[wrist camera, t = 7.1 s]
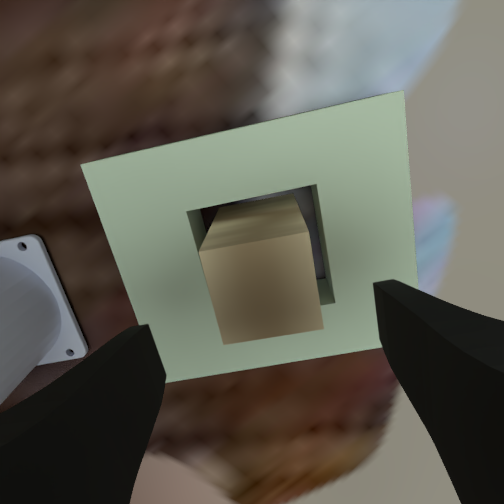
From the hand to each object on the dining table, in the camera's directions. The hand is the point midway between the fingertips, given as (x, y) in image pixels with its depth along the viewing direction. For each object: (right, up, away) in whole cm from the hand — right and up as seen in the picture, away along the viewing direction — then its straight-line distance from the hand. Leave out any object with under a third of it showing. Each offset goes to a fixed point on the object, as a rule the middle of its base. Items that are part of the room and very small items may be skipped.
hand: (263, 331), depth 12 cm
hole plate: (0, +3, +9) cm, 9 cm away
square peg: (0, +3, +9) cm, 9 cm away
